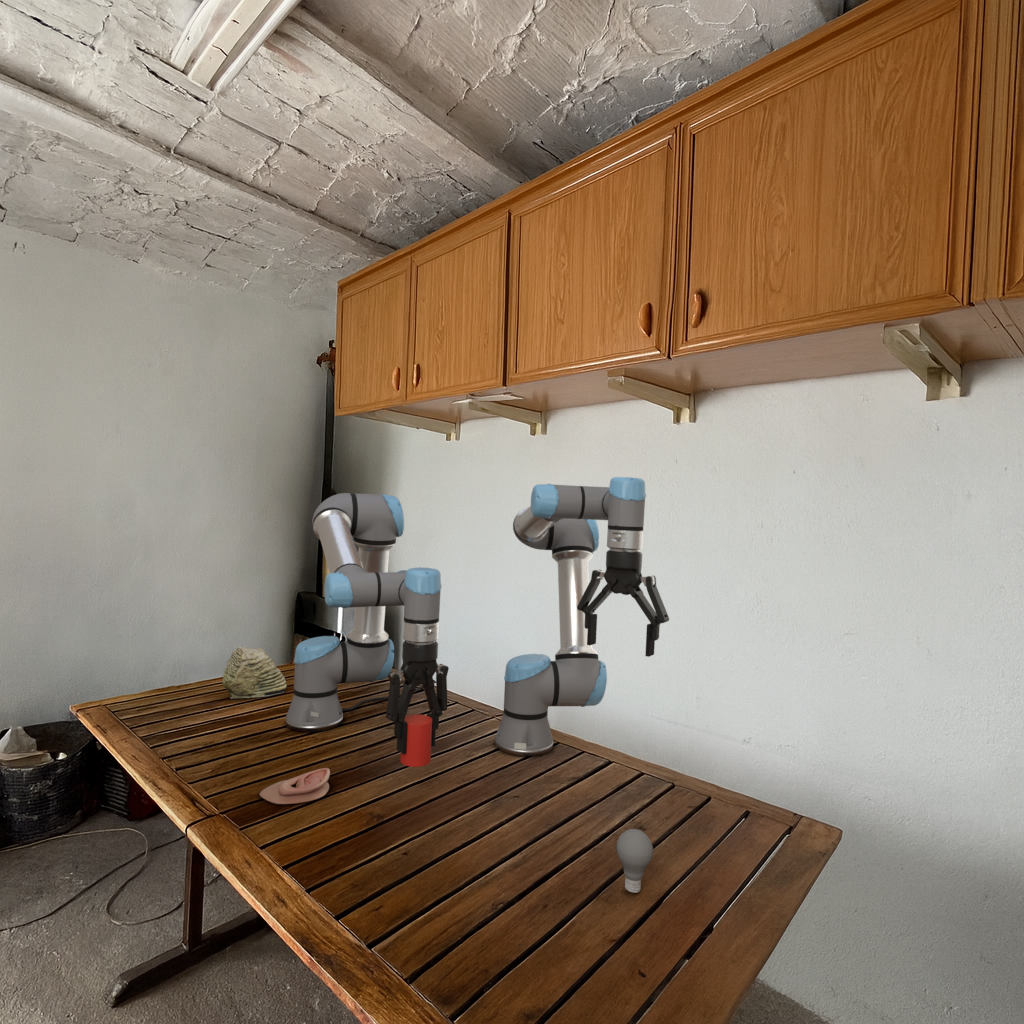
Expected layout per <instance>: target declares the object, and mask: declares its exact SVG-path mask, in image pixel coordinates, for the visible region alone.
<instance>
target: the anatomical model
mask: <svg viewBox="0 0 1024 1024" xmlns="http://www.w3.org/2000/svg"><path fill="white" fill-rule="evenodd" d="M330 776H331V770H330V768H329V767H323V768H319V769H314V770H312V771H308V772H305V773H303V774H300V775H297V776H294V777H292V778H289V779H284V780H281V781H280V780H279V781H277V782H275V783H273V784H270V785H269V786H266V787H265V788H263V789H262V790H261V791H259V797H261V799H264V800H265V801H267V802H269V803H271V804H275V805H292V804H300V803H306V802H310V801H314V800H318V799H320V798H322V797H324V796H325V795H326V794H327V793H328V792H329V790H330V784H329V782H328V780H329V778H330Z"/></svg>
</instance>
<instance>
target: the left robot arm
mask: <svg viewBox="0 0 1024 1024" xmlns="http://www.w3.org/2000/svg"><path fill="white" fill-rule="evenodd" d="M311 526H312V530H313V533H314V536H315V537H316V538H317V539H318V540H319V541H320V544H321V547H322V551H323V554H324V557H325V561H326V564H327V568H328V571H329V573H327V575H326V576H325V578H324V586H323V587H324V588H323V589H324V591H323V592H324V593H323V594H324V601H325V605H326V606H328V607H329V608H341V609H349V608H354V609H353V610H354V612H353V625H352V629H351V630H350V631H349V632H348V633H347V634H346V640H345V641H341V640H340V638H339V637H338V636H335V635H321V636H315V637H311V638H308V639H305V640H303V641H301V642H299V643H298V644H297V645H296V648H295V654H294V660H293V663H294V674H293V675H294V679H293V695H292V696H293V697H292V699H291V702H290V704H289V708H288V711H287V713H286V715H285V726H286V728H287V729H289V730H291V731H294V732H295V731H296V732H301V733H316V732H325V731H329V730H332V729H335V728H337V727H339V726H340V725H342V723H343V722H344V714H343V712H348V711H349V712H350V711H353V710H355V709H356V708H358V706H360V705H362V704H364V703H368V702H373V701H383V700H387V704H386V712H385V717H386V719H387V720H389V721H391V722H394V728H393V735H394V737H396V751H397V752H399V753H400V754H401V753H402V754H406V745H407V722H406V721H404V720H405V717H406V716H407V713H408V710H409V707H410V704H411V701H412V697H413V694H415V693H417V692H419V691H420V690H421V689H422V688H423V690H424V693H425V698H426V701H427V704H428V709H429V712H426V716H429V717H431V718H432V739H431V748H434V747H436V734H437V733H436V731H437V730H438V729H439V726H440V717H442V716H443V712H446V711H447V710H448V707H449V706H448V679H447V678H448V673H449V666H448V665H446V664H443V663H439V664H438V662H437V659H438V655H439V643H438V642H437V641H438V640H439V631H440V629H439V627H440V611H441V610H440V608H441V590H442V579H441V576H442V575H441V572H440V570H439V569H436V568H431V567H410V568H408V569H407V570H406V569H403V570H402V569H401V570H398V571H393V572H392V571H390V572H389V566H390V565H389V564H390V552H391V551H390V550H391V549H392V548H393V547H394V546H396V543H397V538H400V537H402V536H403V534H404V531H405V517H404V511H403V507H402V502H401V501H400V499H399V498H398V497H397V496H395V495H389V494H384V493H352V492H351V493H350V492H341V493H337V494H333V495H331V496H329V497H328V498H326V499H324V500H323V501H322V502H321V503H320V504H319V505H318V506H317V507H316V509H315V511H314V513H313V515H312V521H311ZM357 547H358V549H357ZM399 606H400V607H401V606H402V607H403V624H402V625H403V626H402V639H403V640H404V641H403V642H402V648H401V650H402V651H401V659H402V664H401V666H400V669H399V670H396V671H392V669H393V666H394V661H395V652H394V651H395V645H394V642H393V641H392V639H390V638H389V636H390V635H389V634H388V632H386V630H385V620H386V619H385V618H386V607H399ZM434 675H436V676H435V679H434V678H433V677H434ZM387 678H388V681H389V687H388V695H387V696H380V697H371V698H366V699H363V700H360V701H359V702H357V703H356V704H355V705H353V706H350V707H346V708H344V707H343V708H342V706H341V702H340V699H339V695H338V685H342V684H343V685H344V684H355V683H369V682H370V683H373V682H375V681H377V682H378V681H383V680H385V679H387ZM402 678H404V679H402ZM401 682H403V683H402V686H401ZM401 687H402V690H401ZM435 688H436V689H435Z"/></svg>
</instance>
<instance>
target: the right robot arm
mask: <svg viewBox="0 0 1024 1024" xmlns="http://www.w3.org/2000/svg"><path fill="white" fill-rule="evenodd" d="M646 497H647V493H646V482H645V480H644V479H643V478H641V477H631V476H630V477H629V476H615V477H612V478H611V479H610V481H609V486H608V487H607V486H593V485H592V486H590V485H589V486H588V485H569V484H552V483H542V484H540V483H539V484H535V485H534V486H533V487H532V491H531V495H530V506H529V507H525V508H522V509H521V510H520V511H519V512H517V513H516V515H515V517H514V519H513V522H512V530H513V534H514V535H515V537H516V538H517V540H519V542H520V543H522V544H523V545H525V546H527V547H528V548H531V549H535V550H539V551H551V558H552V559H553V560H554V561H555V562H556V563H557V580H558V582H557V584H558V585H557V586H558V614H559V645H560V648H559V649H558V650H557V652H556V653H555V654H554V660H551V658H550V656H549V655H547V654H544V653H539V654H538V653H525V654H520V655H517V656H514V657H512V658H510V659H509V660H508V661H507V663H506V665H505V671H504V693H503V714H502V717H501V720H500V723H499V726H498V728H497V731H496V734H495V740H494V744H495V747H496V748H497V749H498V750H500V751H501V752H504V753H506V754H509V755H513V756H519V757H535V756H536V757H537V756H542V755H546V754H548V753H550V752H551V751H552V750H553V748H554V736H553V734H552V729H551V726H550V725H551V724H550V722H549V717H548V716H549V715H548V712H549V710H548V709H549V707H581V708H585V707H594V706H597V705H599V704H600V703H601V702H602V701H603V699H604V696H605V693H606V690H607V682H608V681H607V680H608V670H607V665H606V663H605V662H604V661H602V660H599V653H598V652H597V651H596V649H594V648H593V645H596V644H597V629H598V627H597V626H598V613H596V612H595V611H596V610H597V609H598V608H599V607H600V606H601V605H602V604H603V602H605V601H606V599H608V597H610V595H611V594H612V593H613V594H617V595H618V594H622V595H625V596H629V595H630V596H631V598H632V599H634V600H635V602H636V603H637V605H638V606H639V607H640V610H641V611H642V612H643V614H644V615H645V617H646V618H647V620H648V622H649V623H647V624H646V633H645V634H646V635H645V655H644V656H645V657H649V658H650V657H652V656H654V655H655V644H656V643H655V642H656V641H658V640H659V638H660V629H661V628H660V626H661V624H665V623H667V622H669V621H670V617H669V614H668V612H667V609H666V607H665V604H664V602H663V599H662V597H661V594H660V592H659V589H658V587H657V577H656V576H655V575H654V574H652V575H647V576H643V575H642V568H643V553H642V552H641V550H642V549H644V525H645V509H646ZM597 521H607V532H606V533H607V536H606V547H607V548H608V550H607V551H606V552H605V571H602V569H594V570H592V571H591V577H590V576H589V575H590V574H589V562H590V560H592V558H593V557H594V552H596V551H597V550H598V548H599V544H600V541H599V540H600V531H599V530H600V529H599V525H598V522H597ZM603 580H605V582H606V584H605V585H604V586H603V588H602V589H601V590H600V592H599V593H598V594H597V595H596V596H595V597H594V595H595V594H596V591H597V590H598V588H599V585H600V583H601V581H603ZM642 583H643V585H644V586H645V587H646V591H647V594H648V596H649V598H650V601H651V603H650V602H649V601H648V599H647V597H646V595H644V591H643V589H642V588H641V587H640V585H641V584H642ZM593 597H594V598H593ZM592 599H593V600H592ZM651 604H652V605H651Z"/></svg>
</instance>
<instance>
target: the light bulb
mask: <svg viewBox="0 0 1024 1024" xmlns="http://www.w3.org/2000/svg"><path fill="white" fill-rule="evenodd" d="M615 849H616V854H617V857H618V859H619V861H620V863H621V865H622V867H623V873H624V874H623V875H624V876H625V878H624V888H625V890H627V891H628V892H630V893H634V894H635V893H639V892H640V891H641V889H642V887H641V886H642V879H643V877H644V875H645V871H646V868H647V867H648V866H649V864H650V863H651V861H652V859H653V855H654V847H653V843H652V841H651V838H649V836H648V835H647V834H646V833H645V832H643V831H642V830H641V829H636V828H629V829H627V830H625V831H623V832H622V833H621V834H620V835H619V837H618V839H617V841H616V847H615Z"/></svg>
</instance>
